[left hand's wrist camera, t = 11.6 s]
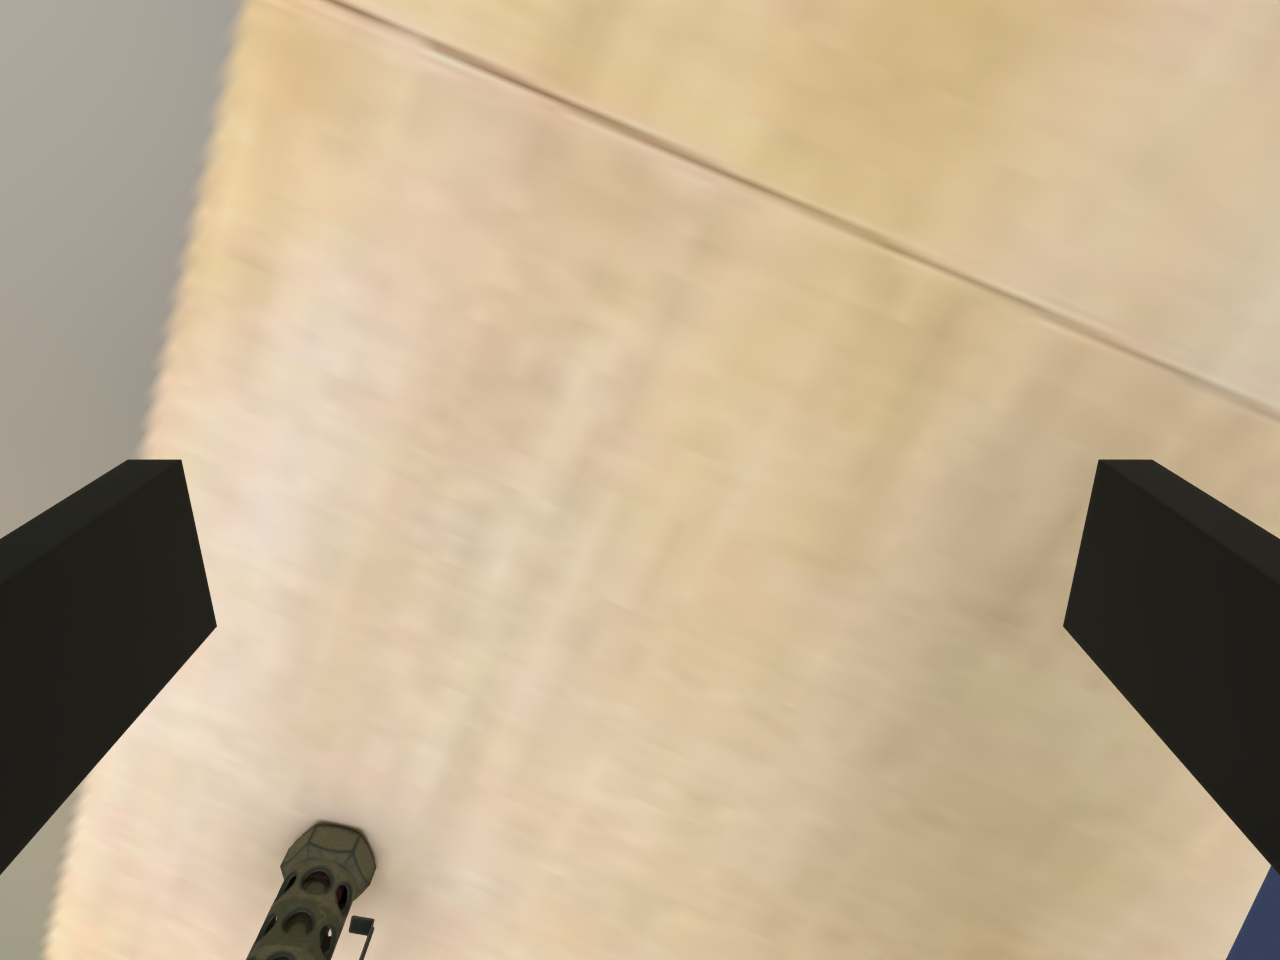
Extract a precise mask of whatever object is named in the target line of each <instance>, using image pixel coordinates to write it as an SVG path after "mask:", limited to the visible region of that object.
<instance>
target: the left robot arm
mask: <svg viewBox="0 0 1280 960" xmlns="http://www.w3.org/2000/svg"><path fill="white" fill-rule="evenodd" d="M216 627H217V624H216V620H215V615H214V610H213V606H212V601H211V596H210V592H209V587H208V582H207V578H206V573H205V568H204V564H203V559H202V554H201V549H200V545H199V540H198V535H197V531H196V526H195V521H194V517H193V512H192V507H191V503H190V498H189V493H188V489H187V484H186V479H185V474H184V470H183V465H182V460H126V461H125V462H123V463H122V464H120V465H118V466H117V467H115V468H114V469H112V470H110V471H109V472H107V473H106V474H104V475H102V476H101V477H99V478H98V479H96V480H94V481H93V482H91V483H90V484H88V485H86V486H85V487H83V488H82V489H80V490H78V491H77V492H75V493H73V494H72V495H70V496H69V497H67V498H66V499H64V500H62V501H61V502H59V503H57V504H56V505H54V506H53V507H51V508H49V509H48V510H46V511H45V512H43V513H41V514H40V515H38V516H37V517H35V518H33V519H32V520H30V521H28V522H27V523H25V524H24V525H22V526H20V527H19V528H17V529H16V530H14V531H12V532H11V533H9V534H8V535H6V536H4V537H3V538H1V539H0V875H1V874H2V872H3V871H4V870H5V869H6V868H7V867H8V865H9V864H10V863H11V862H12V861H13V860H14V859H15V857H16V856H17V855H18V854H19V853H20V852H21V851H22V849H23V848H24V847H25V846H26V845H27V844H28V842H29V841H30V840H31V839H32V838H33V837H34V836H35V835H36V833H37V832H38V831H39V830H40V829H41V828H42V826H43V825H44V824H45V823H46V822H47V821H48V820H49V818H50V817H51V816H52V815H53V814H54V813H55V811H56V810H57V809H58V808H59V807H60V806H61V805H62V803H63V802H64V801H65V800H66V799H67V798H68V797H69V795H70V794H71V793H72V792H73V791H74V790H75V789H76V787H77V786H78V785H79V784H80V783H81V782H82V781H83V779H84V778H85V777H86V776H87V775H88V774H89V773H90V771H91V770H92V769H93V768H94V767H95V766H96V765H97V763H98V762H99V761H100V760H101V759H102V758H103V756H104V755H105V754H106V753H107V752H108V751H109V750H110V748H111V747H112V746H113V745H114V744H115V743H116V742H117V740H118V739H119V738H120V737H121V736H122V735H123V734H124V732H125V731H126V730H127V729H128V728H129V727H130V725H131V724H132V723H133V722H134V721H135V720H136V719H137V717H138V716H139V715H140V714H141V713H142V712H143V711H144V709H145V708H146V707H147V706H148V705H149V704H150V703H151V701H152V700H153V699H154V698H155V697H156V696H157V694H158V693H159V692H160V691H161V690H162V689H163V688H164V686H165V685H166V684H167V683H168V682H169V681H170V680H171V678H172V677H173V676H174V675H175V674H176V673H177V672H178V670H179V669H180V668H181V667H182V666H183V665H184V664H185V662H186V661H187V660H188V659H189V658H190V657H191V655H192V654H193V653H194V652H195V651H196V650H197V649H198V647H199V646H200V645H201V644H202V643H203V642H204V641H205V639H206V638H207V637H208V636H209V635H210V634H211V633H212V631H213V630H214V629H215V628H216ZM1063 627H1064V628H1065V629H1066V630H1067V631H1068V633H1069V634H1070V635H1071V636H1072V637H1073V638H1074V639H1075V641H1076V642H1077V643H1078V644H1079V645H1080V646H1081V647H1082V649H1083V650H1084V651H1085V652H1086V653H1087V654H1088V655H1089V657H1090V658H1091V659H1092V660H1093V661H1094V662H1095V664H1096V665H1097V666H1098V667H1099V668H1100V669H1101V670H1102V672H1103V673H1104V674H1105V675H1106V676H1107V677H1108V678H1109V680H1110V681H1111V682H1112V683H1113V684H1114V685H1115V686H1116V688H1117V689H1118V690H1119V691H1120V692H1121V693H1122V694H1123V696H1124V697H1125V698H1126V699H1127V700H1128V701H1129V703H1130V704H1131V705H1132V706H1133V707H1134V708H1135V709H1136V711H1137V712H1138V713H1139V714H1140V715H1141V716H1142V717H1143V719H1144V720H1145V721H1146V722H1147V723H1148V724H1149V725H1150V727H1151V728H1152V729H1153V730H1154V731H1155V732H1156V734H1157V735H1158V736H1159V737H1160V738H1161V739H1162V740H1163V742H1164V743H1165V744H1166V745H1167V746H1168V747H1169V748H1170V750H1171V751H1172V752H1173V753H1174V754H1175V755H1176V756H1177V758H1178V759H1179V760H1180V761H1181V762H1182V763H1183V765H1184V766H1185V767H1186V768H1187V769H1188V770H1189V771H1190V773H1191V774H1192V775H1193V776H1194V777H1195V778H1196V779H1197V781H1198V782H1199V783H1200V784H1201V785H1202V786H1203V787H1204V789H1205V790H1206V791H1207V792H1208V793H1209V794H1210V795H1211V797H1212V798H1213V799H1214V800H1215V801H1216V802H1217V804H1218V805H1219V806H1220V807H1221V808H1222V809H1223V810H1224V812H1225V813H1226V814H1227V815H1228V816H1229V817H1230V818H1231V820H1232V821H1233V822H1234V823H1235V824H1236V825H1237V826H1238V828H1239V829H1240V830H1241V831H1242V832H1243V833H1244V835H1245V836H1246V837H1247V838H1248V839H1249V840H1250V841H1251V843H1252V844H1253V845H1254V846H1255V847H1256V848H1257V849H1258V851H1259V852H1260V853H1261V854H1262V855H1263V856H1264V857H1265V859H1266V860H1267V861H1268V862H1269V863H1270V864H1271V865H1272V867H1273V868H1274V869H1275V870H1276V871H1277V872H1278V874H1279V875H1280V539H1279V538H1277V537H1276V536H1274V535H1272V534H1271V533H1269V532H1268V531H1266V530H1264V529H1263V528H1261V527H1260V526H1258V525H1256V524H1255V523H1253V522H1252V521H1250V520H1248V519H1247V518H1245V517H1243V516H1242V515H1240V514H1239V513H1237V512H1235V511H1234V510H1232V509H1231V508H1229V507H1227V506H1226V505H1224V504H1223V503H1221V502H1219V501H1218V500H1216V499H1215V498H1213V497H1211V496H1210V495H1208V494H1207V493H1205V492H1203V491H1202V490H1200V489H1198V488H1197V487H1195V486H1194V485H1192V484H1190V483H1189V482H1187V481H1186V480H1184V479H1182V478H1181V477H1179V476H1178V475H1176V474H1174V473H1173V472H1171V471H1170V470H1168V469H1166V468H1165V467H1163V466H1162V465H1160V464H1158V463H1157V462H1155V461H1154V460H1098V465H1097V470H1096V474H1095V479H1094V484H1093V489H1092V493H1091V498H1090V503H1089V507H1088V512H1087V517H1086V521H1085V526H1084V531H1083V535H1082V540H1081V545H1080V549H1079V554H1078V559H1077V564H1076V568H1075V573H1074V578H1073V582H1072V587H1071V592H1070V596H1069V601H1068V606H1067V610H1066V615H1065V620H1064V624H1063Z"/></svg>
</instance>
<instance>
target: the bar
mask: <svg viewBox="0 0 1280 960" xmlns="http://www.w3.org/2000/svg"><path fill="white" fill-rule="evenodd" d="M1226 960H1280V875H1279V874H1278V872H1277V871H1276V870H1275V869H1274V868H1273V867H1272V865H1271V867H1270V869H1269V871H1268V873H1267V876H1266V878H1265V880H1264V882H1263V884H1262V886H1261V888H1260V890H1259V892H1258V894H1257V896H1256V898H1255V900H1254V903H1253V905H1252V907H1251V909H1250V911H1249V913H1248V915H1247V917H1246V919H1245V921H1244V923H1243V925H1242V927H1241V930H1240V932H1239V934H1238V936H1237V938H1236V940H1235V942H1234V944H1233V946H1232V948H1231V950H1230V952H1229V954H1228V957H1227V959H1226Z"/></svg>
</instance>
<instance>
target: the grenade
mask: <svg viewBox="0 0 1280 960" xmlns="http://www.w3.org/2000/svg"><path fill="white" fill-rule="evenodd" d="M280 867H281V870H282V874H283V877H284V882H283V884H282V886H281V888H280V890H279V893H278V895H277V897H276V899H275V901H274V903H273V905H272V907H271V909H270V911H269V913H268V915H267V917H266V919H265V922H264V924H263V926H262V928H261V930H260V932H259V934H258V937H257V939H256V941H255V943H254V944H253V946H252V948H251V950H250V952H249V955H248V957H247V959H246V960H331V958H332V955H333V952H334V950H335V947H336V944H337V941H338V939H339V937H340V934H341V931H342V929H343V926H344V923H345V921H346V918H347V915H348V913H349V910H350V907H351V905H352V902H353V901H354V900H355V899H356V898H357V897H358V896H359V895H361V894H362V893H363V892H364V890H365V889H366V888H367V887H368V886H369V885H370V883H371V880H372V878H373V875H374V872H375V869H376V864H375V861H374V858H373V855H372V852H371V850H370V848H369V846H368V844H367V842H366V841H365V839H364V838H363V837H362V836H361V834H358V833H356V832H354V831H352V830H349V829H346V828H342V827H338V826H330V825H315V826H314V827H312V828H311V829H310V830H308V831H307V832H306V833H305V834H303V835H302V836H301V837H300V838H299V839H298V840H297V841H296V842H295V843H294V844H293V845H292V846H291V847H290V848H289V850H288V852H287V854H286V856H285V858H284V860H283V862H282V864H281V866H280ZM276 916H277V920H276ZM373 924H374V919H371V918H365V917H359V916H352V918H351V923H350V928H349V932H350V933H355V934H360V935H366V936H367V939H366V942H365V945H364V948H363V950H362V953H361V956H360V959H359V960H364V957H365V954H366V951H367V948H368V945H369V943H370V940H371V937H372V934H373V931H374V927H373ZM330 929H331V932H332V936H330V937H329V936H328V932H329V930H330Z"/></svg>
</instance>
